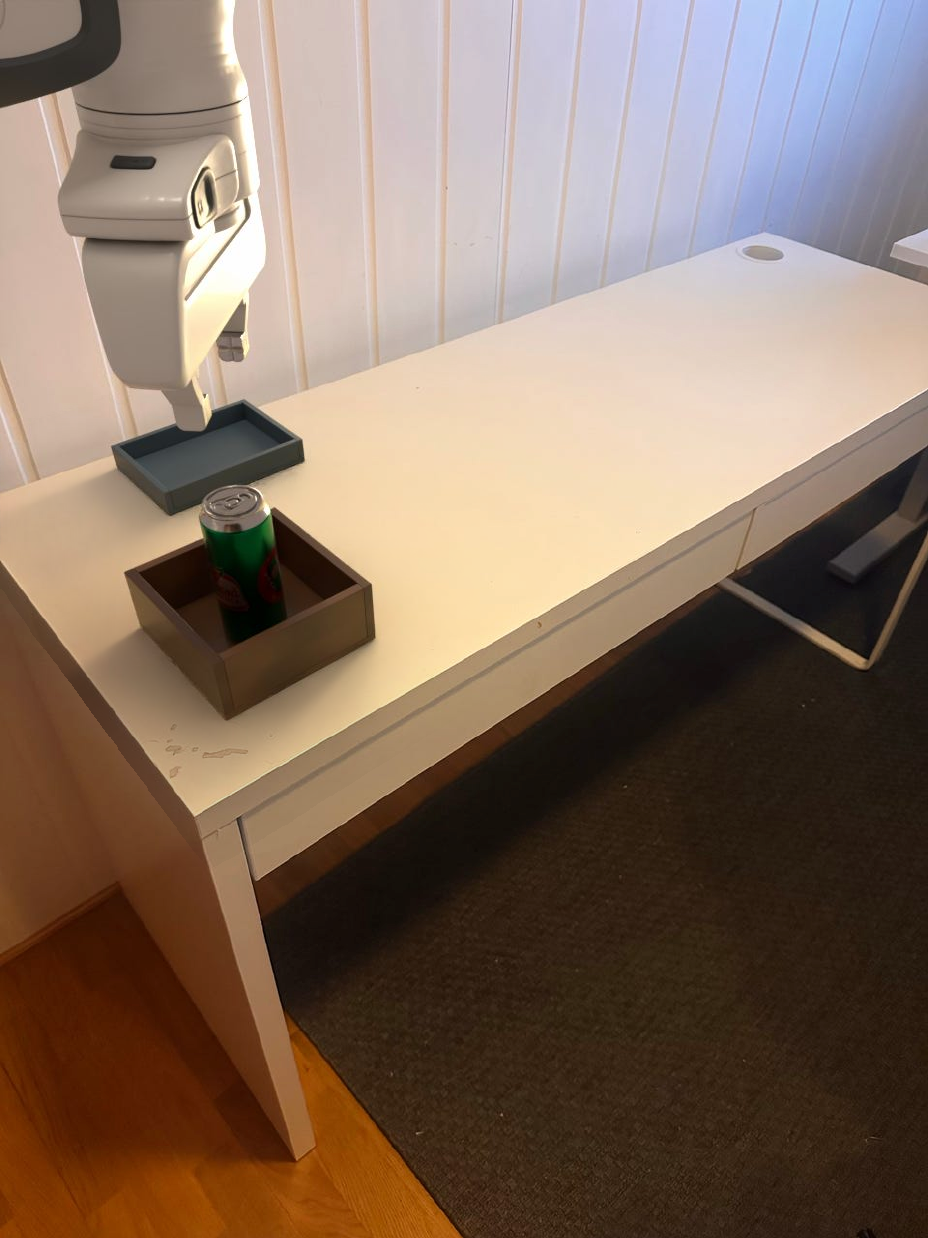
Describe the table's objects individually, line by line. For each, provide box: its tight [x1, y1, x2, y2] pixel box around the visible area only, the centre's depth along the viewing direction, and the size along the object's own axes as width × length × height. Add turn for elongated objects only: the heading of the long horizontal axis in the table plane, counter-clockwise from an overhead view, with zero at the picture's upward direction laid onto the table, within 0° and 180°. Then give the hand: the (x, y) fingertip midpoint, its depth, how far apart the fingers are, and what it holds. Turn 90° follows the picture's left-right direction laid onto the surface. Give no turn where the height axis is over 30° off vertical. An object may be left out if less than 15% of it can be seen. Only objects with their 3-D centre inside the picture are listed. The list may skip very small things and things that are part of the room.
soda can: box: [198, 485, 287, 642], centre depth 68 cm, size 5×5×12 cm
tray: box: [110, 398, 306, 516], centre depth 90 cm, size 15×11×2 cm
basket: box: [123, 506, 377, 721], centre depth 70 cm, size 14×14×6 cm
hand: (216, 389), depth 58 cm, fingers open, 8 cm apart
